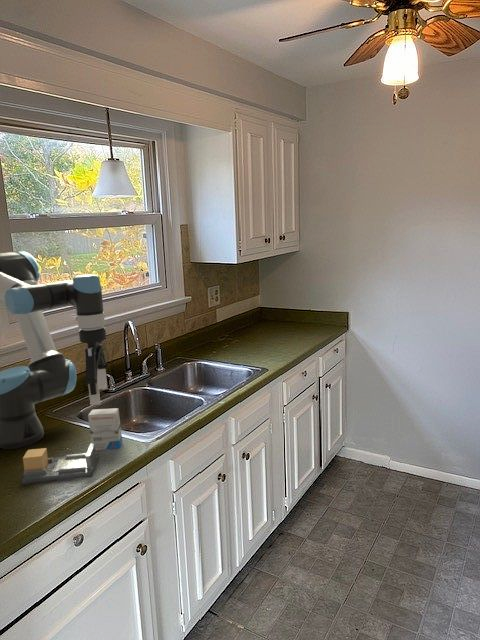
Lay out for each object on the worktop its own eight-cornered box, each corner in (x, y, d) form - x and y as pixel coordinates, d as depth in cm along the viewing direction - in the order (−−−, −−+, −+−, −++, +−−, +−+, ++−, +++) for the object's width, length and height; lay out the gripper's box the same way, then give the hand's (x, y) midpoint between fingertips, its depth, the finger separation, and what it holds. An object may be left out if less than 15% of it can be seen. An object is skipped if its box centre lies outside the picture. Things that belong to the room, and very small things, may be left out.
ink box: (123, 442, 154) (119, 407, 151) (119, 449, 149) (116, 413, 147) (95, 443, 154) (91, 408, 151) (91, 450, 149) (87, 414, 146)
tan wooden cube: (30, 464, 138) (28, 449, 137) (48, 462, 139) (46, 448, 138) (24, 473, 133) (22, 457, 133) (43, 471, 134) (41, 456, 133)
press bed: (34, 464, 142) (31, 447, 140) (98, 458, 144) (96, 440, 143) (22, 483, 131) (19, 465, 130) (92, 476, 133) (90, 458, 132)
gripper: (86, 320, 154) (94, 384, 158) (69, 338, 130) (78, 412, 134) (110, 318, 155) (117, 382, 159) (97, 336, 130) (105, 410, 135)
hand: (99, 396), depth 146 cm, fingers open, 13 cm apart
